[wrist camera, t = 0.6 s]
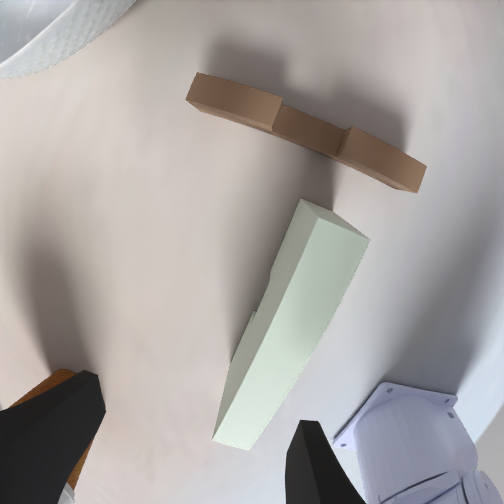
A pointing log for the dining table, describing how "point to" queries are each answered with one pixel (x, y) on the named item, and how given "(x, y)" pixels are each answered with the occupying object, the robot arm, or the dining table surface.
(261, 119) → the walnut slot board
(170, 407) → the dining table surface
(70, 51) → the cereal bowl
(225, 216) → the dining table surface
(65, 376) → the disposable coffee cup
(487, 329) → the dining table surface
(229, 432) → the sage slot plate
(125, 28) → the dining table surface
